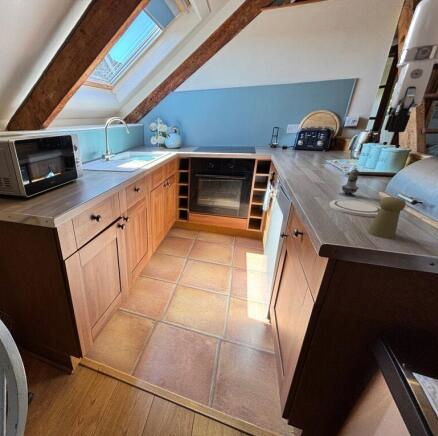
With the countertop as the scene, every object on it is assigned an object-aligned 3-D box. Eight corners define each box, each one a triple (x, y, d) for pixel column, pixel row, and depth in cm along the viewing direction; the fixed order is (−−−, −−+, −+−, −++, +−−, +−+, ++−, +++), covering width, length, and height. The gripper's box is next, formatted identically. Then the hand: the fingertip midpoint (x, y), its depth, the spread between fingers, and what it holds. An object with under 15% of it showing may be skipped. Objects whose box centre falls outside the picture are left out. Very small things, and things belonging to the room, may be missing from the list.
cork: (368, 227, 76) (381, 193, 71) (395, 233, 72) (410, 197, 67) (366, 233, 72) (379, 198, 68) (394, 240, 68) (409, 203, 64)
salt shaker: (344, 196, 104) (352, 168, 100) (336, 192, 110) (344, 166, 105) (359, 197, 103) (368, 169, 99) (351, 193, 109) (359, 166, 104)
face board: (350, 200, 100) (351, 197, 99) (396, 213, 86) (397, 210, 85) (319, 204, 96) (320, 201, 96) (361, 218, 82) (362, 215, 82)
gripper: (452, 48, 52) (418, 133, 58) (433, 61, 64) (407, 130, 71) (403, 54, 56) (377, 132, 63) (394, 65, 69) (373, 129, 75)
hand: (393, 131), depth 67 cm, fingers open, 9 cm apart
